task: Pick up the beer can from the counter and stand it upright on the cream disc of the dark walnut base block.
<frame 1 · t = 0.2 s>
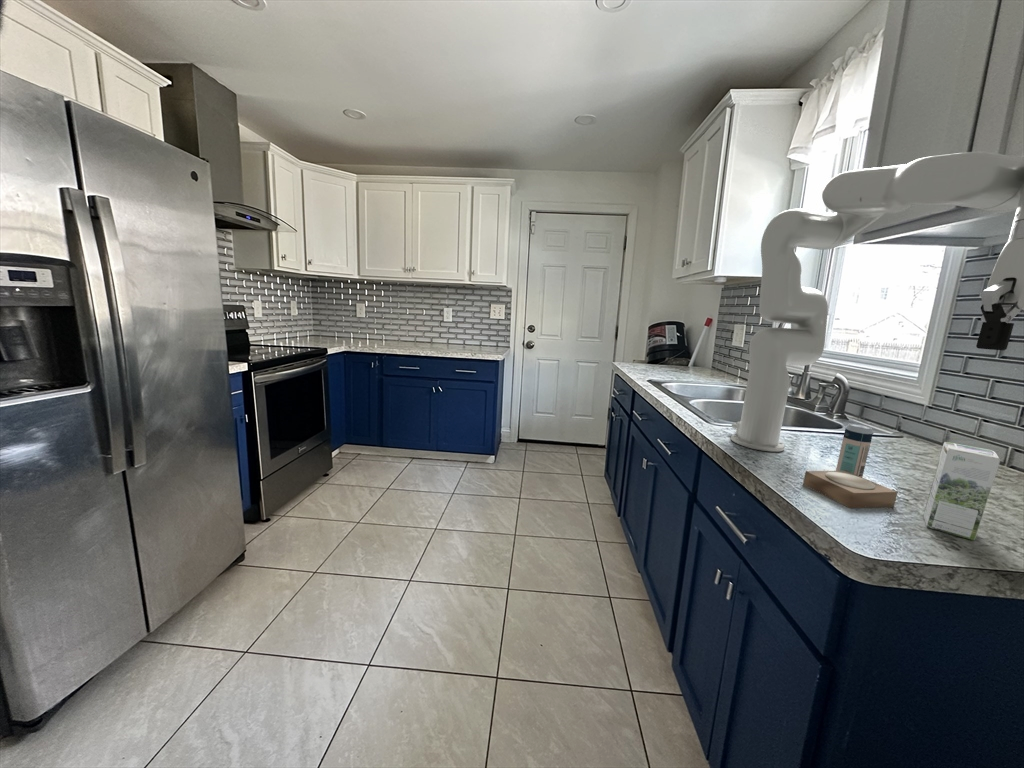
hand: (1014, 350, 62), 31 cm above the countertop, tool pointing down, fingers open, 9 cm apart
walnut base: (846, 495, 80), on the countertop
beer can: (847, 478, 90), on the countertop
syrup box: (947, 529, 69), on the countertop
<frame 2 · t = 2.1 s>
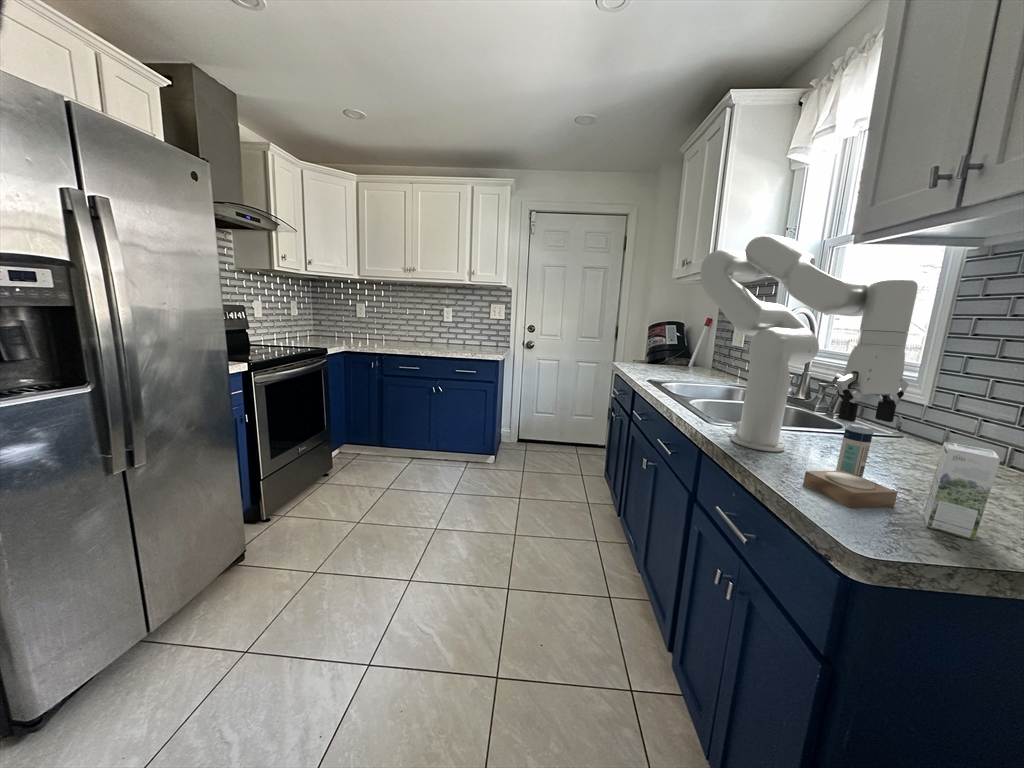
hand: (865, 420, 86), 13 cm above the countertop, tool pointing down, fingers open, 9 cm apart
nothing on the countertop moved.
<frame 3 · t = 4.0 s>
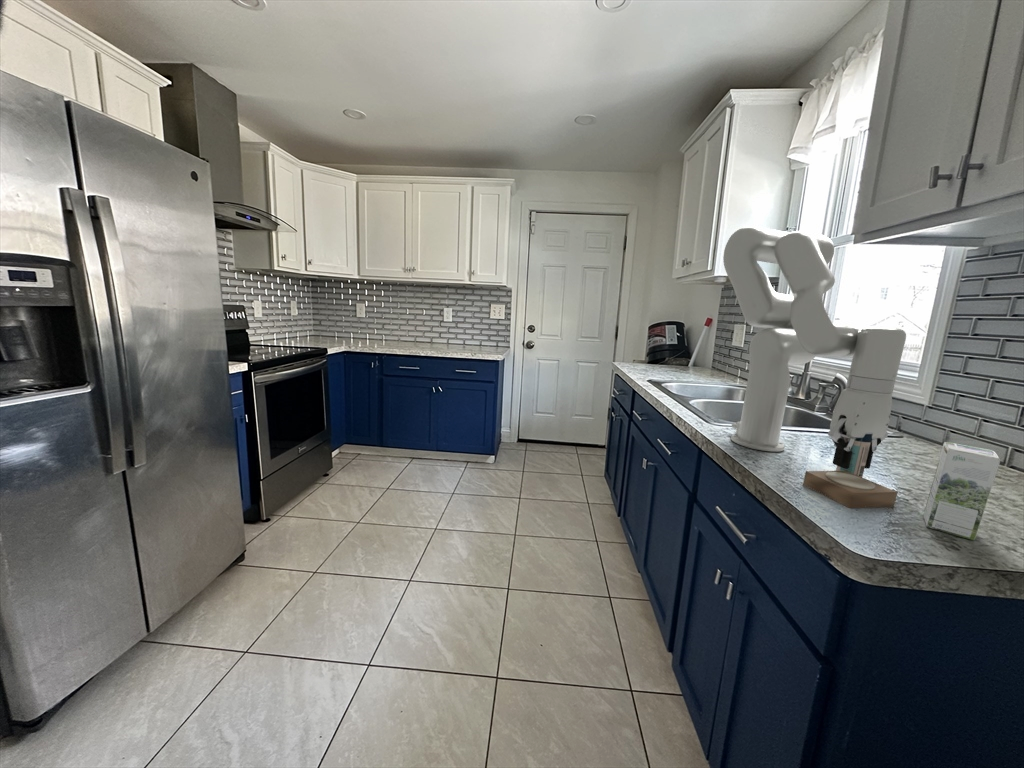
hand: (850, 465, 89), 3 cm above the countertop, tool pointing down, fingers closed on beer can, 4 cm apart
beer can: (847, 478, 90), on the countertop, touching gripper
everything else where it was.
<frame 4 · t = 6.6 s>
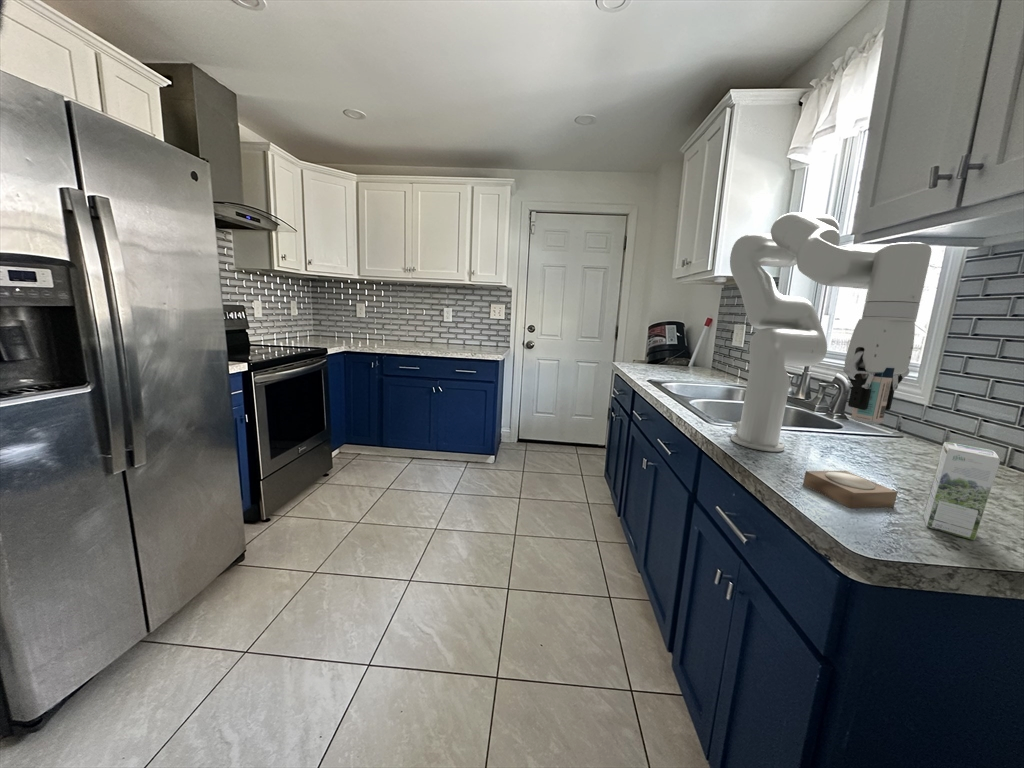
hand: (868, 407, 78), 18 cm above the countertop, tool pointing down, fingers closed on beer can, 4 cm apart
beer can: (865, 422, 78), point 15 cm above the countertop, touching gripper
everything else where it was.
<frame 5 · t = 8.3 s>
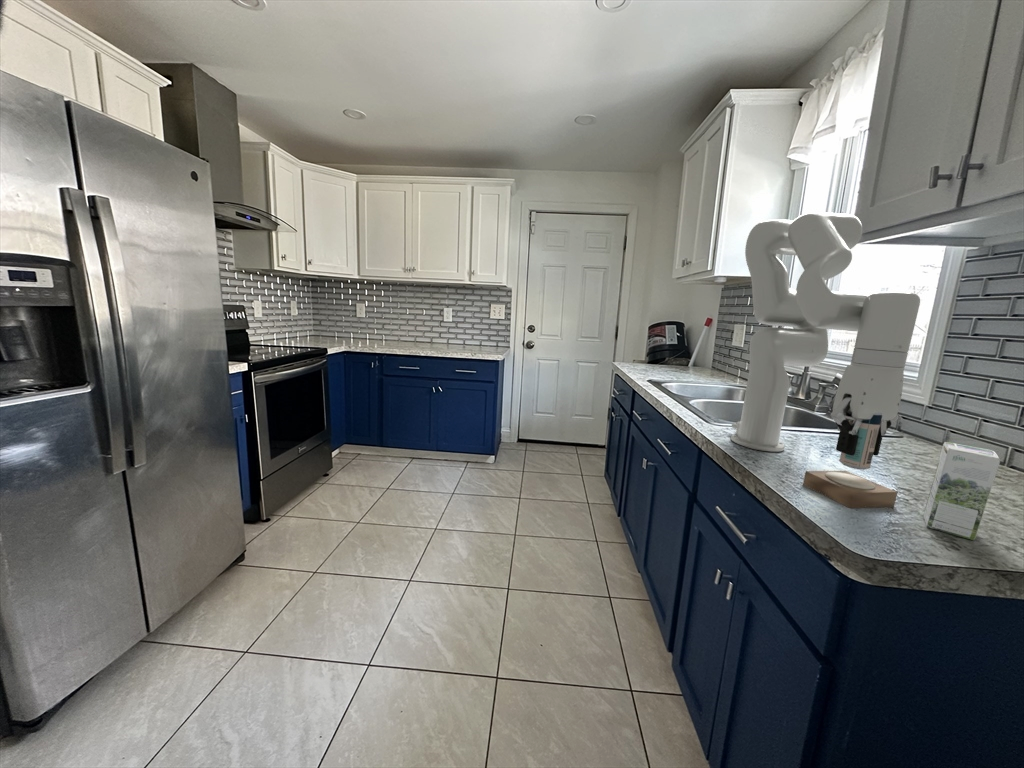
hand: (856, 451, 78), 9 cm above the countertop, tool pointing down, fingers closed on beer can, 4 cm apart
beer can: (853, 467, 79), point 6 cm above the countertop, touching gripper
everything else where it was.
when the fingers open (8 cm above the countertop, at t = 9.4 s): beer can drops 1 cm, resting on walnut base.
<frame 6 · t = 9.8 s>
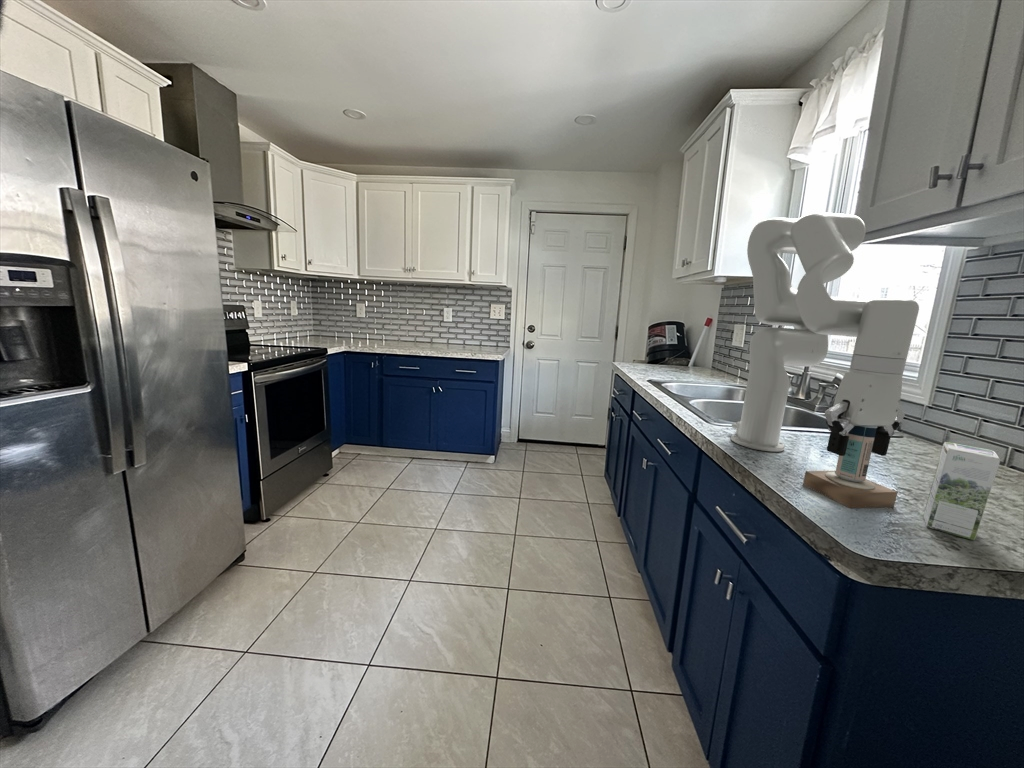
hand: (856, 453, 78), 9 cm above the countertop, tool pointing down, fingers open, 9 cm apart
beer can: (849, 479, 79), point 3 cm above the countertop, touching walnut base
everything else where it was.
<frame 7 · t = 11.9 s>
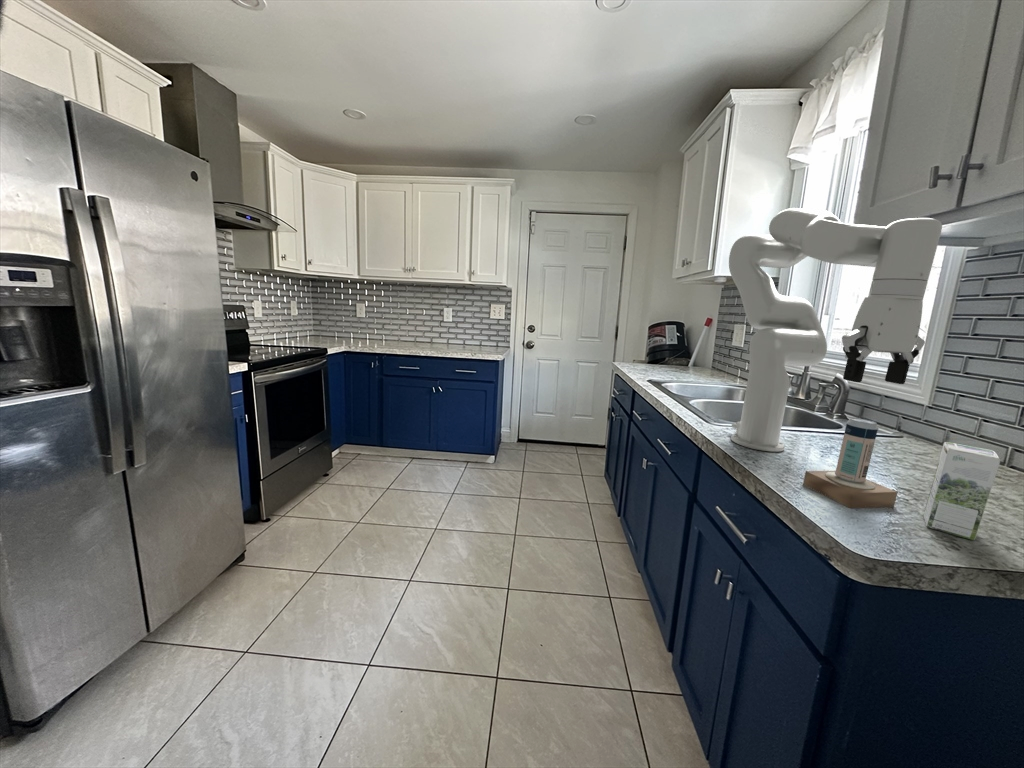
hand: (873, 381, 78), 23 cm above the countertop, tool pointing down, fingers open, 9 cm apart
nothing on the countertop moved.
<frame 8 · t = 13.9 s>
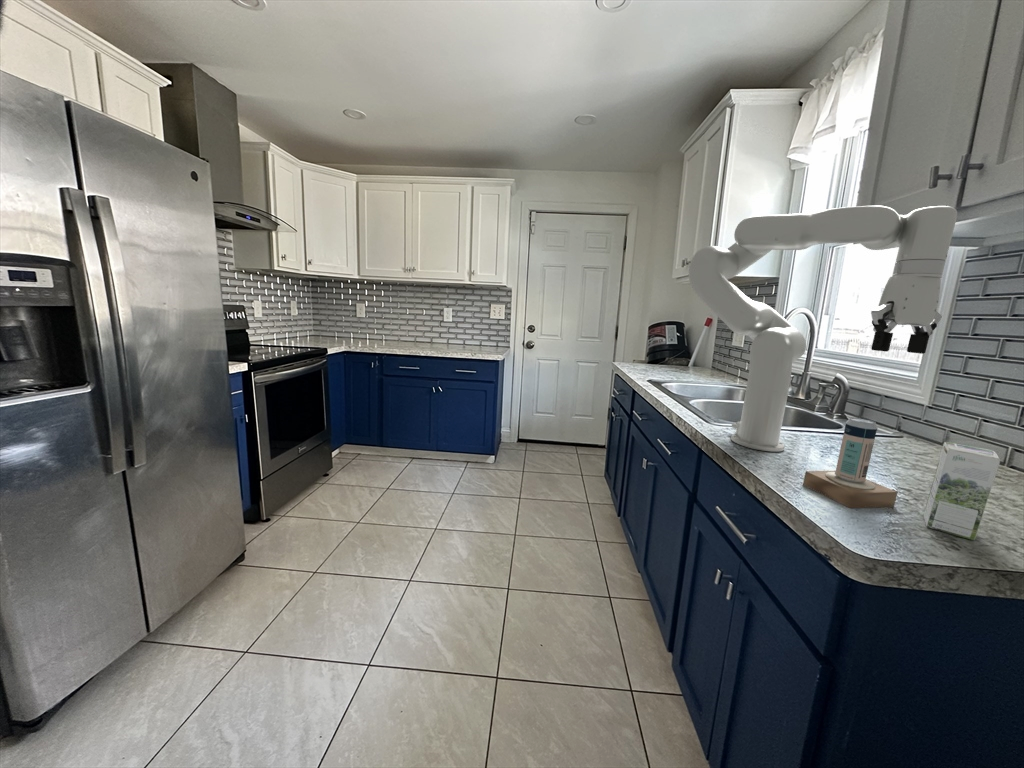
hand: (897, 351, 88), 28 cm above the countertop, tool pointing down, fingers open, 9 cm apart
nothing on the countertop moved.
at the end: beer can 0.1 cm off-centre on the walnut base, point 3.1 cm above the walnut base's base; beer can tilted 1°; the gripper is holding nothing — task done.
